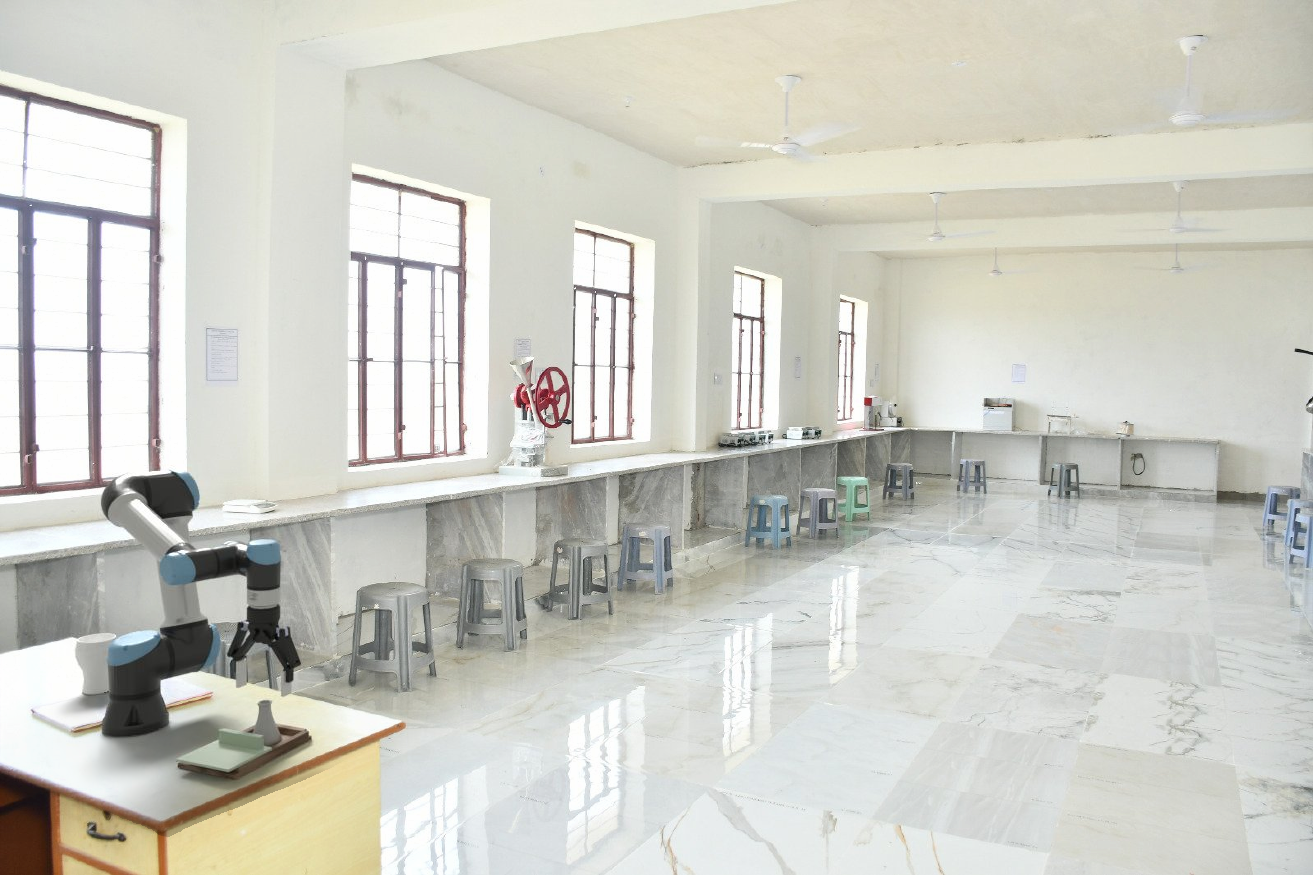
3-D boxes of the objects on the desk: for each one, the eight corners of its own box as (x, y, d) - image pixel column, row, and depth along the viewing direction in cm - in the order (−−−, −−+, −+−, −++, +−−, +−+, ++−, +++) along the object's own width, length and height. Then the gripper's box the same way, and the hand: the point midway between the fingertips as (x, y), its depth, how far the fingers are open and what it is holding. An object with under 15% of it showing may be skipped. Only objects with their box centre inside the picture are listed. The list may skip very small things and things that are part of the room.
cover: (176, 761, 222) (176, 746, 222) (221, 740, 235) (221, 725, 234) (228, 772, 217) (228, 756, 217) (271, 749, 229) (271, 734, 229)
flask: (270, 749, 234) (269, 708, 233) (243, 746, 235) (242, 705, 234) (287, 737, 241) (286, 698, 240) (261, 735, 242) (260, 695, 242)
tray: (177, 767, 225) (177, 756, 225) (256, 729, 248) (256, 720, 248) (236, 779, 219) (235, 768, 219) (311, 739, 242) (311, 729, 242)
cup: (127, 688, 277) (126, 636, 276) (89, 699, 268) (87, 645, 267) (107, 681, 282) (105, 630, 281) (68, 691, 274) (67, 639, 272)
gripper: (211, 601, 236) (211, 687, 238) (294, 615, 227) (294, 703, 229) (234, 594, 243) (234, 677, 245) (316, 607, 234) (316, 693, 236)
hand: (263, 690), depth 237 cm, fingers open, 13 cm apart
